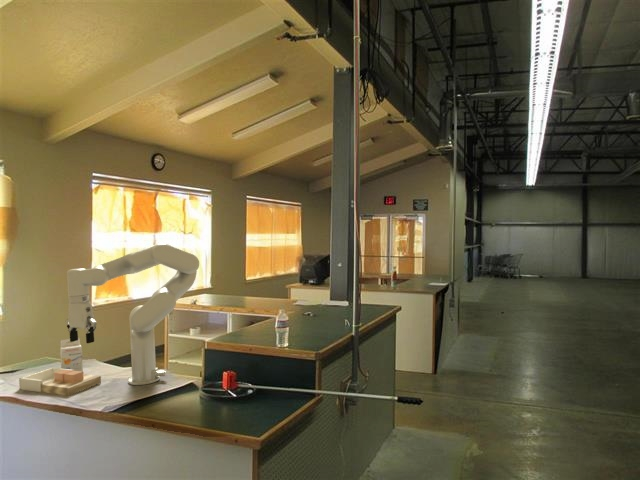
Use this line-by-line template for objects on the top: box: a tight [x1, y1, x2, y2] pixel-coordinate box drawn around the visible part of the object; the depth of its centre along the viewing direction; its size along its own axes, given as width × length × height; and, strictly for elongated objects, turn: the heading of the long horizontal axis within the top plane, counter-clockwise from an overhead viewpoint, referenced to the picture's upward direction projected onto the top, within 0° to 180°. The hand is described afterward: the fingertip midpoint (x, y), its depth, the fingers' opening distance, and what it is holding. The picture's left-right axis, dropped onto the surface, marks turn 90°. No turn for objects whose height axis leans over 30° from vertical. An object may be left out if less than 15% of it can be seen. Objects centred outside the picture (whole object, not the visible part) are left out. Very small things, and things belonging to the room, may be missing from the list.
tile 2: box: [64, 370, 84, 383], centre depth 200 cm, size 5×5×3 cm
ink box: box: [59, 337, 84, 372], centre depth 223 cm, size 8×5×15 cm, turn 123°
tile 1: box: [54, 369, 73, 382], centre depth 202 cm, size 5×5×3 cm
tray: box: [18, 367, 74, 393], centre depth 206 cm, size 12×16×4 cm
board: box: [40, 373, 102, 397], centre depth 201 cm, size 15×16×3 cm
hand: (82, 341), depth 198 cm, fingers open, 9 cm apart
